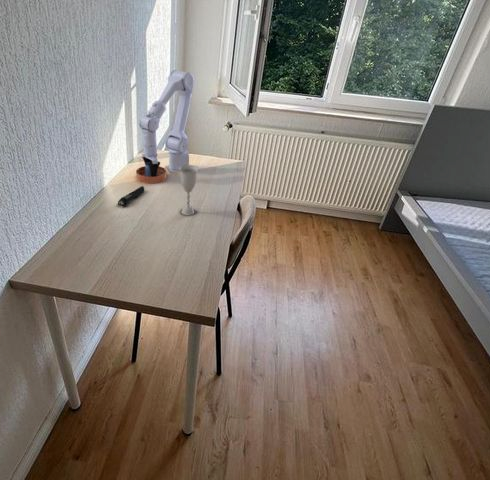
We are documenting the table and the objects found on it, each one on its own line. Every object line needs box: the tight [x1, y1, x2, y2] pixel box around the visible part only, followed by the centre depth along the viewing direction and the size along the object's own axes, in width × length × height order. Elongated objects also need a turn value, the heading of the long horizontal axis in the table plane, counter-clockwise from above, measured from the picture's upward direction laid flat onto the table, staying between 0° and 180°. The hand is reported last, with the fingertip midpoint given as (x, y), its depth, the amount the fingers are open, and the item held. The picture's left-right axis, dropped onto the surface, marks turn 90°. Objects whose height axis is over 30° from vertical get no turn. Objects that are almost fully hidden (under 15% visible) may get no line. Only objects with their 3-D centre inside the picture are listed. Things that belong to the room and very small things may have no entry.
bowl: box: [135, 165, 168, 184], centre depth 162 cm, size 14×14×4 cm
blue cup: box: [144, 163, 157, 177], centre depth 160 cm, size 5×5×6 cm
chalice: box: [179, 164, 199, 216], centre depth 132 cm, size 7×7×18 cm
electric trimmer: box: [117, 185, 145, 208], centre depth 143 cm, size 4×16×3 cm, turn 153°
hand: (151, 173), depth 161 cm, fingers open, 7 cm apart
